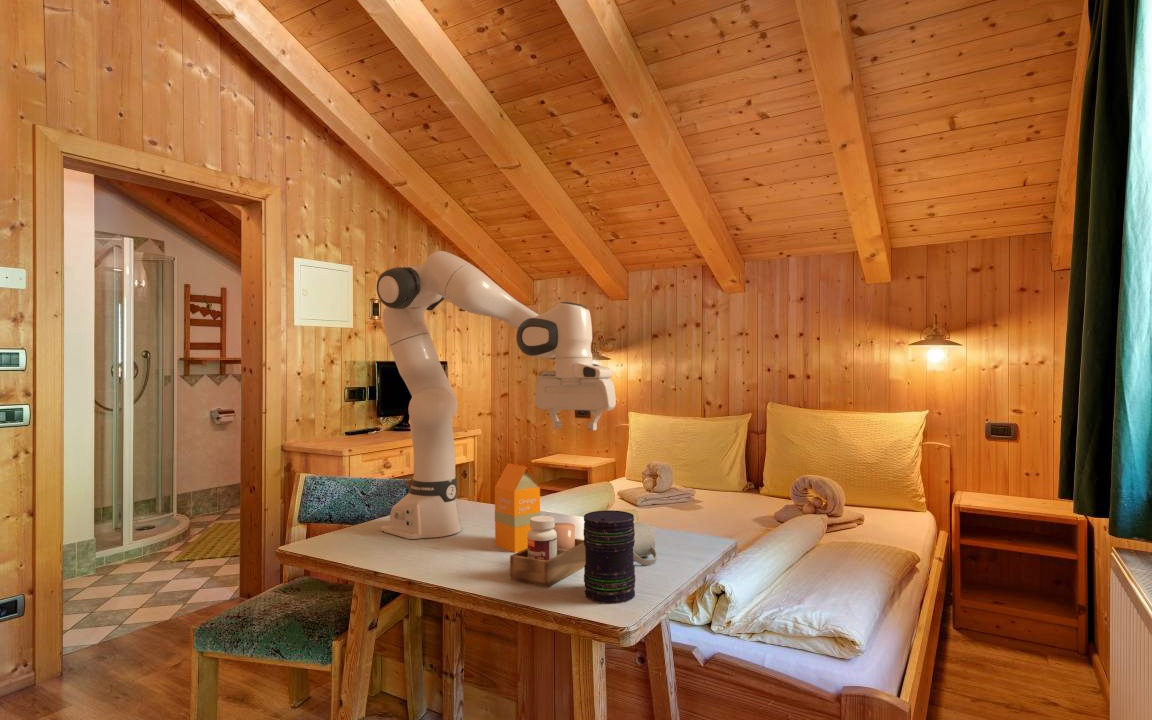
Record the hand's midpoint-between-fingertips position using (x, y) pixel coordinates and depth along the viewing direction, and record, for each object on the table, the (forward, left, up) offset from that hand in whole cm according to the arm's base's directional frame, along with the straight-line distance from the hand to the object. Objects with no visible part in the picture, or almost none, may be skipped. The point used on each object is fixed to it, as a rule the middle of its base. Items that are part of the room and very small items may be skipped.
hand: (574, 429), depth 146 cm
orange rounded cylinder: (+2, -9, -28) cm, 30 cm away
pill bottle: (+2, -17, -28) cm, 34 cm away
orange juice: (-16, -1, -29) cm, 33 cm away
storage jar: (+19, -20, -29) cm, 40 cm away
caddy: (+2, -14, -29) cm, 32 cm away
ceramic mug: (+14, +3, -29) cm, 33 cm away
